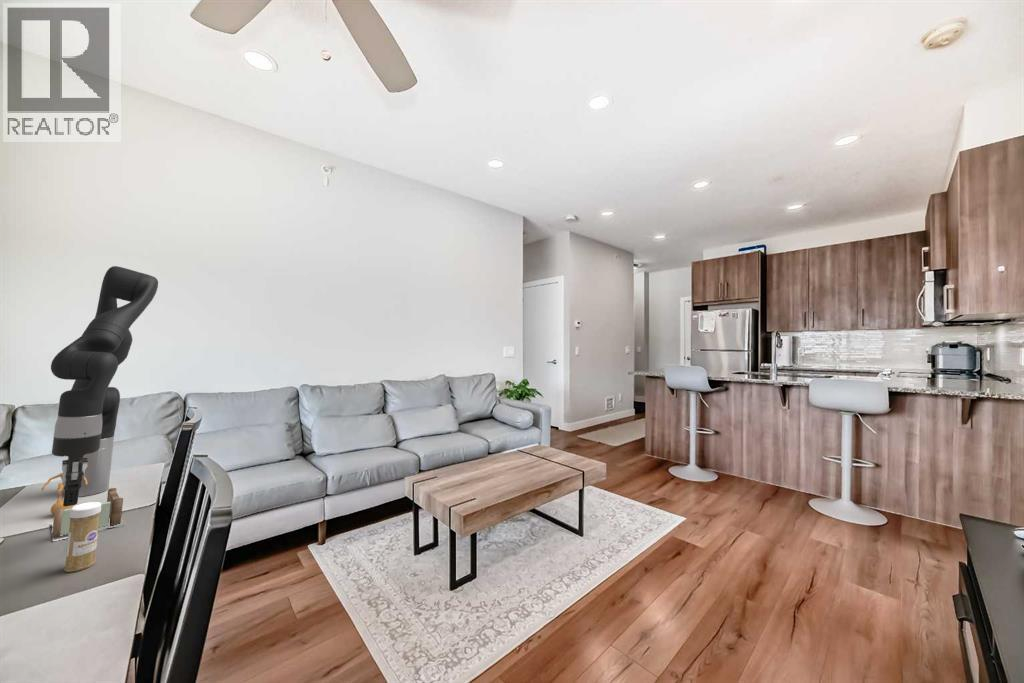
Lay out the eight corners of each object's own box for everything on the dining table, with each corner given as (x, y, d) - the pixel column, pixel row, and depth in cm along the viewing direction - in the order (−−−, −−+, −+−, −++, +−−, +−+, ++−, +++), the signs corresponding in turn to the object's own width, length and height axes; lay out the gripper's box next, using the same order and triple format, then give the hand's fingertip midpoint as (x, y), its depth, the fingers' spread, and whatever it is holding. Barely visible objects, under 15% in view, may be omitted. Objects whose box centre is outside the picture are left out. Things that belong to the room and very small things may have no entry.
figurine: (35, 521, 98) (40, 476, 98) (41, 513, 102) (46, 469, 103) (82, 513, 103) (87, 470, 104) (86, 506, 108) (90, 465, 108)
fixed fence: (104, 513, 104) (106, 489, 104) (114, 510, 106) (117, 487, 106) (110, 527, 97) (112, 501, 97) (121, 524, 99) (123, 499, 99)
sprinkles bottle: (83, 572, 79) (89, 509, 80) (56, 573, 78) (63, 510, 79) (101, 560, 84) (107, 500, 84) (76, 561, 83) (83, 501, 83)
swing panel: (108, 523, 98) (110, 500, 98) (108, 526, 97) (110, 502, 97) (52, 535, 91) (54, 509, 91) (51, 537, 90) (54, 511, 90)
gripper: (103, 437, 88) (94, 509, 87) (100, 425, 96) (92, 492, 96) (53, 441, 82) (44, 519, 82) (54, 429, 90) (46, 499, 90)
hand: (70, 504), depth 89 cm, fingers closed
